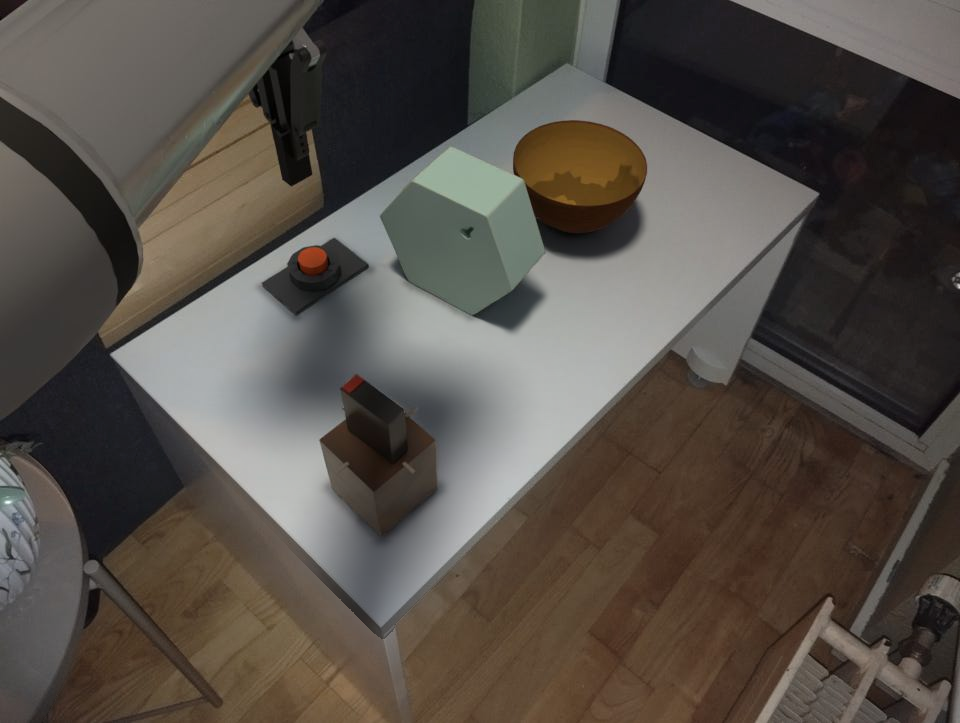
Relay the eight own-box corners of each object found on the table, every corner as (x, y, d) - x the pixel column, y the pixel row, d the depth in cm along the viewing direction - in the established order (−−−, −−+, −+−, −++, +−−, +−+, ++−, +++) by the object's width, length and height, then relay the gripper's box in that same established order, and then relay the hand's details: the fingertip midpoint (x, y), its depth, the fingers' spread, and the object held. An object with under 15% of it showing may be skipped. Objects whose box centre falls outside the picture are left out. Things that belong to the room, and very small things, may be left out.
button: (311, 280, 97) (309, 271, 96) (294, 265, 99) (292, 256, 97) (333, 265, 99) (332, 257, 97) (316, 251, 100) (314, 242, 99)
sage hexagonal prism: (484, 293, 106) (573, 234, 88) (452, 328, 102) (538, 274, 84) (399, 200, 103) (473, 121, 85) (362, 233, 99) (432, 156, 81)
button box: (296, 315, 96) (292, 302, 94) (262, 286, 99) (258, 272, 97) (368, 267, 102) (367, 254, 100) (334, 241, 104) (332, 227, 102)
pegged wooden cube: (380, 552, 78) (372, 506, 70) (316, 488, 82) (302, 438, 74) (452, 488, 82) (452, 439, 74) (388, 430, 86) (382, 378, 78)
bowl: (484, 228, 107) (487, 170, 99) (548, 162, 116) (555, 104, 108) (596, 281, 101) (608, 225, 93) (654, 208, 110) (669, 151, 102)
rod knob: (408, 449, 74) (404, 407, 68) (392, 464, 72) (387, 423, 67) (363, 415, 76) (356, 371, 70) (347, 429, 75) (338, 386, 69)
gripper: (162, -80, 61) (228, 164, 79) (262, -21, 55) (308, 225, 74) (241, -106, 64) (287, 133, 83) (342, -53, 59) (367, 190, 77)
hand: (297, 177), depth 78 cm, fingers closed
